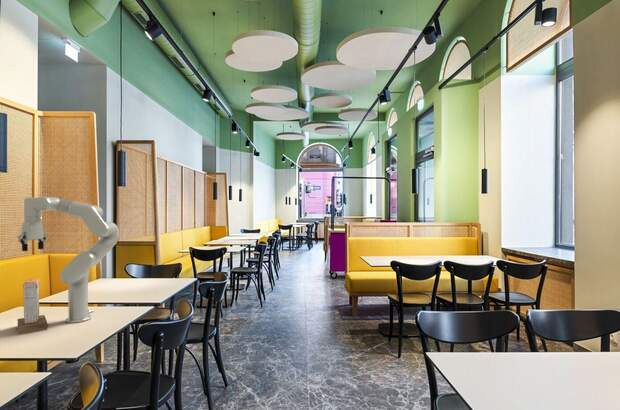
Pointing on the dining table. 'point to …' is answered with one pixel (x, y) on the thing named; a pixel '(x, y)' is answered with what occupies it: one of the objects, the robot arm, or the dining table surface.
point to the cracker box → (31, 301)
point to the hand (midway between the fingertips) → (33, 250)
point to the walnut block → (32, 325)
